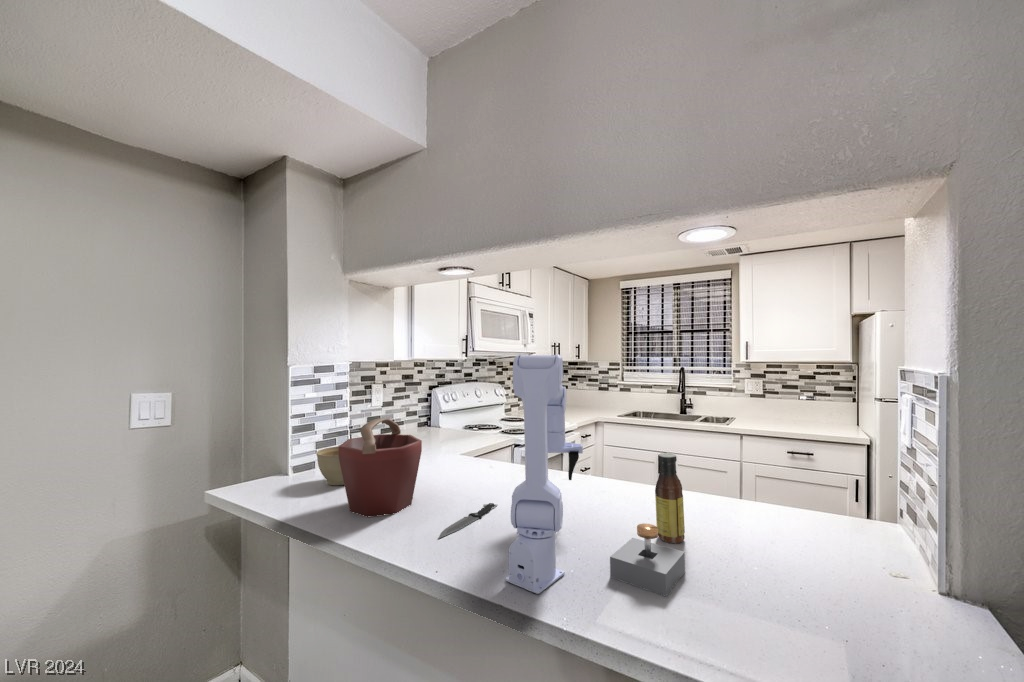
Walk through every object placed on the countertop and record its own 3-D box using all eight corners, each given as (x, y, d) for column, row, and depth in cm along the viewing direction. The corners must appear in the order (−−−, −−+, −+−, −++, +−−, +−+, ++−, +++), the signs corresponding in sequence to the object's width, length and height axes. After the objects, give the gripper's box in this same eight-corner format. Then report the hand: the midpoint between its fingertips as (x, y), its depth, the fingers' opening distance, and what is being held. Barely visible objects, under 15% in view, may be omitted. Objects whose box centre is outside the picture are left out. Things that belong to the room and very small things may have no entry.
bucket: (384, 527, 111) (384, 428, 112) (316, 516, 119) (316, 424, 119) (434, 496, 134) (433, 415, 135) (374, 489, 142) (374, 411, 142)
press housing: (666, 596, 79) (665, 574, 79) (610, 577, 86) (610, 556, 86) (685, 571, 88) (684, 551, 88) (632, 556, 95) (632, 537, 95)
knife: (427, 538, 105) (443, 542, 103) (427, 534, 105) (443, 538, 103) (487, 504, 128) (502, 507, 125) (487, 501, 128) (501, 504, 125)
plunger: (653, 562, 84) (653, 533, 84) (634, 556, 87) (633, 528, 87) (661, 554, 87) (660, 526, 87) (641, 548, 90) (641, 521, 90)
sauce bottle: (675, 532, 107) (674, 450, 107) (690, 543, 101) (689, 457, 101) (650, 534, 106) (649, 452, 106) (664, 546, 99) (662, 458, 100)
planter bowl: (375, 481, 150) (375, 449, 150) (329, 492, 138) (329, 458, 139) (353, 472, 161) (353, 442, 161) (308, 482, 149) (308, 450, 150)
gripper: (580, 424, 118) (581, 472, 120) (527, 424, 119) (528, 472, 121) (583, 432, 111) (584, 483, 113) (526, 433, 112) (527, 483, 114)
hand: (555, 478), depth 116 cm, fingers open, 7 cm apart
